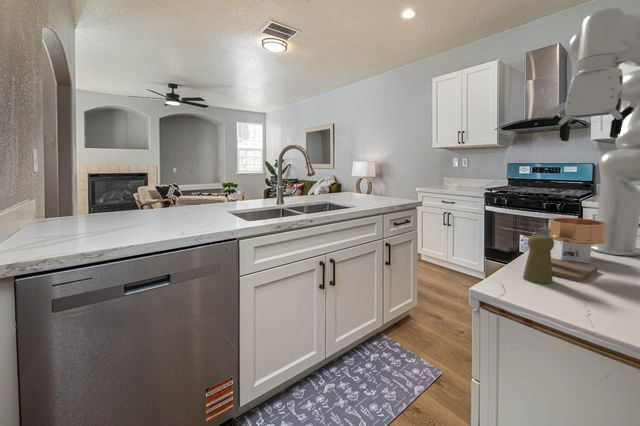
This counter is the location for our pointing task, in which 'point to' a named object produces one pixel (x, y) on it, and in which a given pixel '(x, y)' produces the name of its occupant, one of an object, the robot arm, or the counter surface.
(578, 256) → the light bulb box
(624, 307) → the counter surface
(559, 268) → the cup bracket
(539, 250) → the cork
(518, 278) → the counter surface
